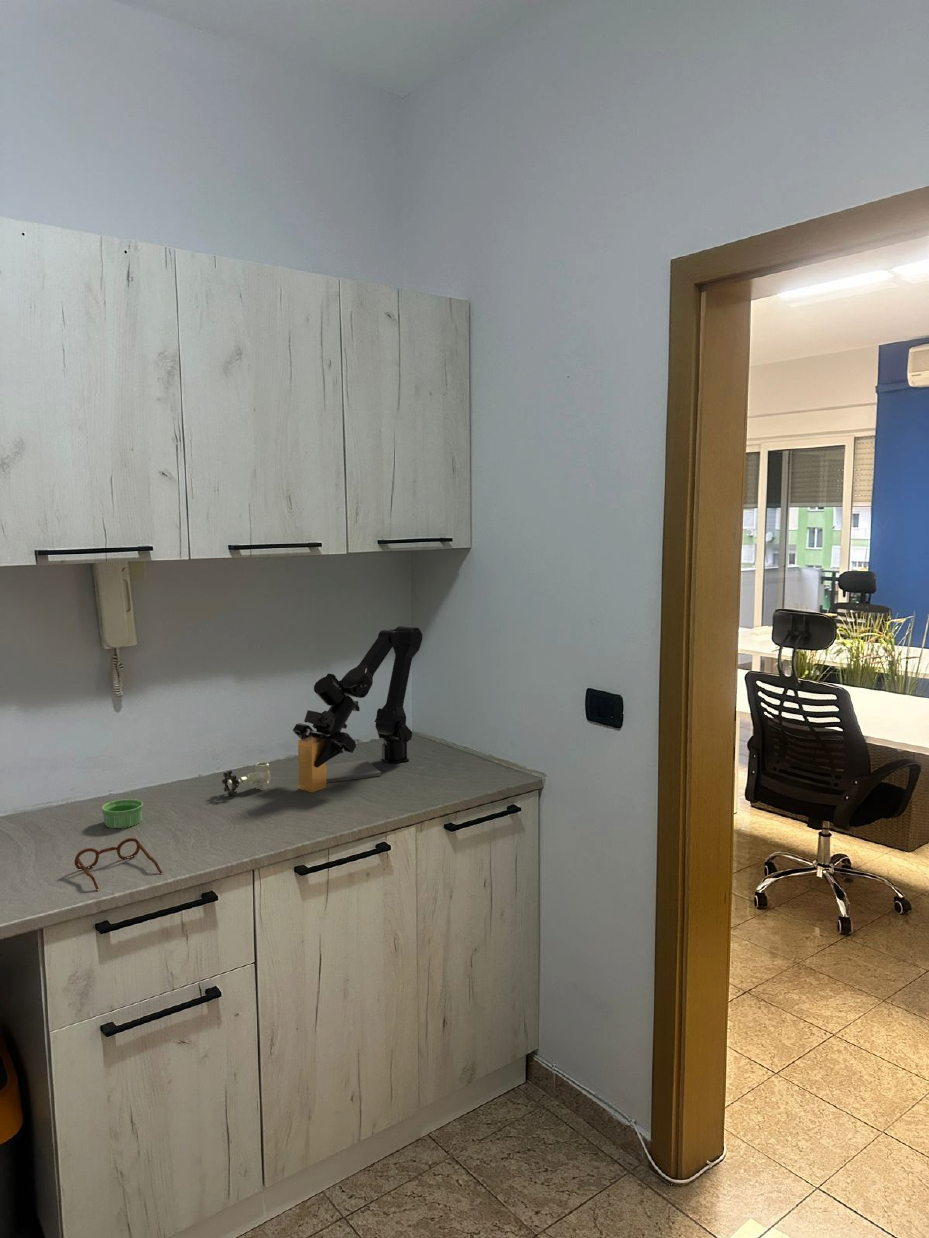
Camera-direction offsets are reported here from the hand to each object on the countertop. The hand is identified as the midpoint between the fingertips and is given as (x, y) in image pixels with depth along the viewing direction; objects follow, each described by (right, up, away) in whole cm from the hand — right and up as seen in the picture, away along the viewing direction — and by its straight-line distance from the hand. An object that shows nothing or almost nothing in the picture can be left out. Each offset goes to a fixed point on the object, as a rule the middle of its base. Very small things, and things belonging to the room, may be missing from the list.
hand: (308, 764), depth 231 cm
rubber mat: (+8, -5, +16) cm, 18 cm away
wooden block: (+1, -6, +2) cm, 7 cm away
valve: (-15, -7, 0) cm, 17 cm away
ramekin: (-39, -10, -24) cm, 47 cm away
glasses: (-29, -14, -52) cm, 61 cm away
